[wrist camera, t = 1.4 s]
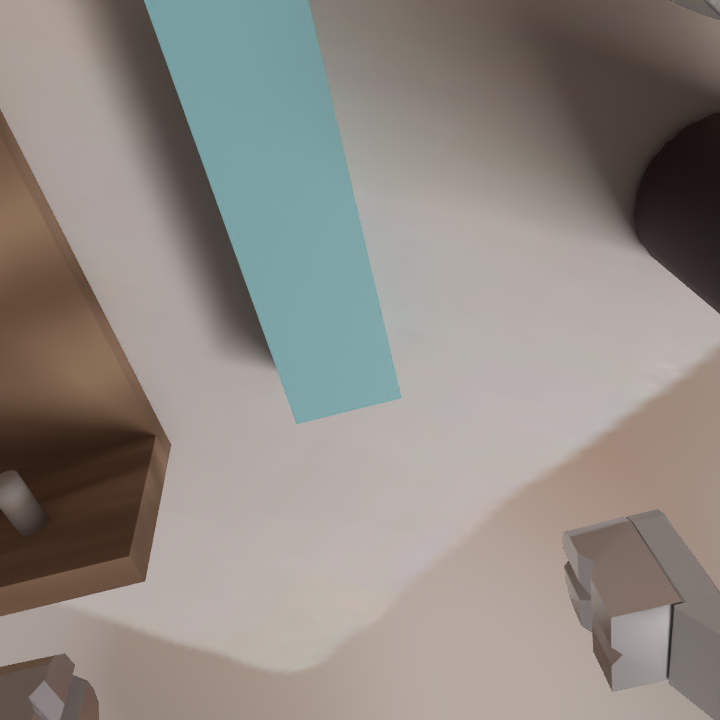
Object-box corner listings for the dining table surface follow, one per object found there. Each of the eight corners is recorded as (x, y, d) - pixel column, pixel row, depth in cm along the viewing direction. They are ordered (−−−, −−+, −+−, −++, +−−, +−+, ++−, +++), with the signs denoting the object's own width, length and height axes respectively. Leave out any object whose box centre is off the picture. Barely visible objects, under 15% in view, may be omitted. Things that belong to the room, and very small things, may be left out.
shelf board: (162, -13, 22) (142, -3, 18) (293, -48, 22) (298, -44, 18) (293, 370, 31) (296, 424, 27) (387, 347, 30) (401, 398, 27)
